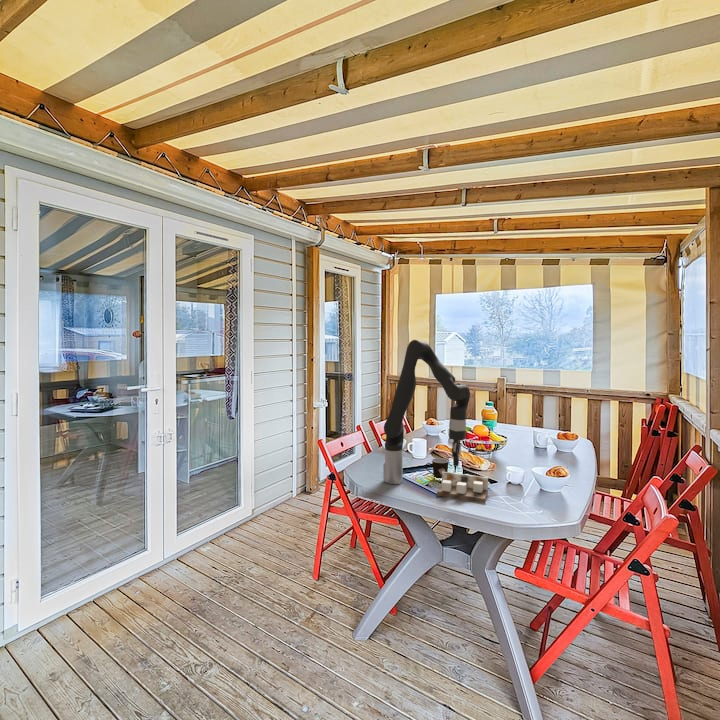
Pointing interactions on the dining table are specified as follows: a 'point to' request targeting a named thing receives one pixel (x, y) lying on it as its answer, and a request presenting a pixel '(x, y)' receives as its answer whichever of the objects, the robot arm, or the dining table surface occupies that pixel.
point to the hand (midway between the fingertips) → (455, 465)
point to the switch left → (446, 485)
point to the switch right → (478, 486)
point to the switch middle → (461, 487)
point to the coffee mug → (438, 466)
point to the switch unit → (469, 492)
